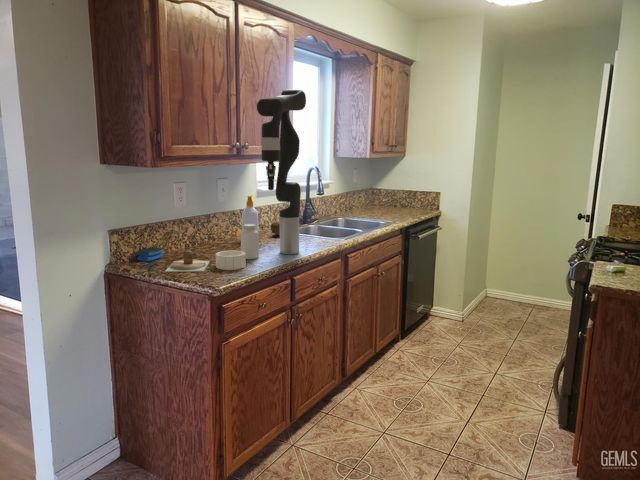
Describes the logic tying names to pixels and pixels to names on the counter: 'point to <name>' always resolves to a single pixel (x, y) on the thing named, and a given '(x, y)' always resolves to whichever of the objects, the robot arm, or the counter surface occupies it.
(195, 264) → the lid
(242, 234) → the pill bottle
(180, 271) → the mat
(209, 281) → the counter surface
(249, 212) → the soap bottle
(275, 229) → the potato
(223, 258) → the bowl
